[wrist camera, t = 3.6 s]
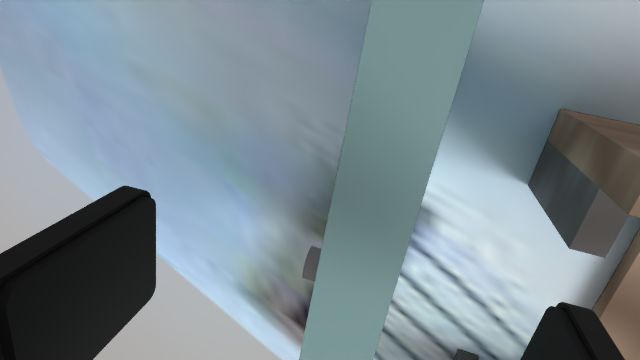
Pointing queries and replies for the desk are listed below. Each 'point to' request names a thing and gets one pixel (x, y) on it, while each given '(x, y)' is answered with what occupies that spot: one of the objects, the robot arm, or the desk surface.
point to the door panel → (384, 168)
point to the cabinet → (595, 209)
